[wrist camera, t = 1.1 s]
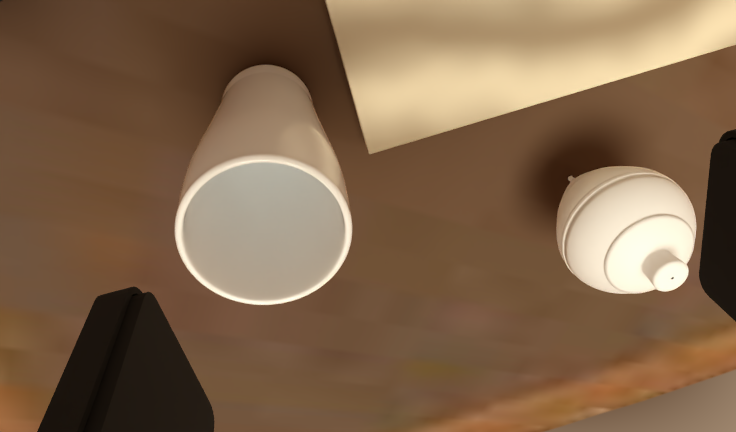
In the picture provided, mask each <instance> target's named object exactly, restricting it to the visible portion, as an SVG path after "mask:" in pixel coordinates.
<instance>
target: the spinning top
mask: <svg viewBox="0 0 736 432" xmlns="http://www.w3.org/2000/svg"><path fill="white" fill-rule="evenodd" d="M568 180H569V181H570V183H569V185H568V186H567V188H566V190H565V192H564V194H563V197H562V199H561V202H560V204H559V208H558V213H557V225H556V234H557V243H558V248H559V251H560V253H561V256H562V258H563V260H564V261H565V263H566V265H567V267H568V268H569V269H570V271H571V272H572V273H573V274H574V275H575V276H576V277H578V278H579V279H580V280H581V281H583V282H584V283H586V284H588V285H589V286H591V287H593V288H596V289H599V290H602V291H606V292H611V293H622V294H626V293H644V292H648V291H652V290H654V289H657V290H660V291H671V290H673V289H676V288H677V287H679V286H680V285H681V284H682V283H683V282H684V281H685V280H686V278H687V276H688V267H687V265H686V264H687V263H688V261H689V259H690V257H691V255H692V252H693V249H694V243H695V236H696V218H695V213H694V209H693V207H692V204H691V202H690V200H689V198H688V196H687V195H686V193H685V192H684V191H683V190H682V189H681V188H680V186H679V185H678V184H677V183H675V182H674V181H673V180H672V179H670V178H668V177H667V176H664V175H663V174H661V173H659V172H656V171H654V170H651V169H647V168H642V167H635V166H613V167H603V168H599V169H596V170H593V171H590V172H587V173H584V174H582V175H580V176H578V177H576V178H574V177H573V176H569V177H568Z"/></svg>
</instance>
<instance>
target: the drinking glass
mask: <svg viewBox="0 0 736 432" xmlns="http://www.w3.org/2000/svg"><path fill="white" fill-rule="evenodd" d="M175 239H176V244H177V248H178V251H179V254H180V256H181V258H182V260H183V262H184V264H185V265H186V267H187V268H188V270H189V271H190V272H191V274H192V275H193V276H194V277H195V278H196V279H197V280H198V281H199V282H201V283H202V284H203V285H204V286H206V287H207V288H208V289H210V290H212V291H213V292H215V293H217V294H219V295H221V296H223V297H225V298H228V299H231V300H234V301H237V302H242V303H247V304H255V305H272V304H280V303H286V302H290V301H293V300H296V299H299V298H302V297H304V296H306V295H308V294H310V293H312V292H314V291H316V290H317V289H319V288H320V287H322V286H323V285H324V284H325V283H327V282H328V281H329V280H330V279H331V278H332V277H333V276H334V275H335V273H336V272H337V271H338V270H339V268H340V267H341V265H342V264H343V262H344V260H345V258H346V256H347V254H348V251H349V248H350V244H351V239H352V219H351V213H350V206H349V199H348V193H347V188H346V184H345V180H344V176H343V173H342V170H341V167H340V164H339V161H338V159H337V156H336V154H335V151H334V149H333V147H332V145H331V143H330V141H329V139H328V136H327V134H326V132H325V130H324V128H323V126H322V124H321V122H320V120H319V117H318V115H317V113H316V111H315V108H314V106H313V101H312V98H311V95H310V93H309V91H308V89H307V87H306V85H305V84H304V83H303V82H302V80H301V79H300V78H299V77H297V76H296V75H295V74H294V73H292V72H291V71H289V70H287V69H285V68H282V67H279V66H275V65H257V66H253V67H250V68H247V69H245V70H243V71H241V72H240V73H238V74H237V75H236V76H235V77H234V78H233V79H232V80H231V81H230V82H229V84H228V85H227V87H226V89H225V91H224V93H223V97H222V100H221V103H220V105H219V107H218V109H217V111H216V113H215V115H214V116H213V118H212V120H211V122H210V124H209V126H208V127H207V129H206V131H205V133H204V135H203V136H202V138H201V140H200V142H199V144H198V146H197V148H196V150H195V152H194V154H193V156H192V158H191V161H190V163H189V166H188V168H187V171H186V174H185V178H184V181H183V185H182V189H181V193H180V197H179V203H178V209H177V214H176V219H175Z"/></svg>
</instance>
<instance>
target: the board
mask: <svg viewBox="0 0 736 432" xmlns="http://www.w3.org/2000/svg"><path fill="white" fill-rule="evenodd" d="M325 3H326V6H327V10H328V13H329V17H330V20H331V24H332V27H333V31H334V34H335V38H336V42H337V45H338V49H339V52H340V56H341V59H342V63H343V66H344V70H345V73H346V77H347V80H348V84H349V87H350V91H351V95H352V98H353V102H354V105H355V109H356V112H357V116H358V119H359V123H360V126H361V130H362V133H363V137H364V140H365V143H366V146H367V149H368V152H369V154H372V153H375V152H379V151H382V150H385V149H389V148H392V147H395V146H399V145H402V144H405V143H409V142H412V141H415V140H419V139H422V138H425V137H429V136H432V135H435V134H439V133H442V132H445V131H449V130H452V129H455V128H459V127H462V126H466V125H469V124H472V123H476V122H479V121H482V120H486V119H489V118H492V117H496V116H499V115H502V114H506V113H509V112H512V111H516V110H519V109H522V108H526V107H529V106H532V105H536V104H539V103H542V102H546V101H549V100H552V99H556V98H559V97H562V96H566V95H569V94H572V93H576V92H579V91H582V90H586V89H589V88H592V87H596V86H599V85H602V84H606V83H609V82H612V81H616V80H619V79H622V78H626V77H629V76H632V75H636V74H639V73H642V72H646V71H649V70H652V69H656V68H659V67H662V66H666V65H669V64H672V63H676V62H679V61H682V60H686V59H689V58H692V57H696V56H699V55H702V54H706V53H709V52H712V51H716V50H719V49H722V48H726V47H729V46H732V45H736V0H325Z"/></svg>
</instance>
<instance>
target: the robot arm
mask: <svg viewBox="0 0 736 432" xmlns="http://www.w3.org/2000/svg"><path fill="white" fill-rule="evenodd" d="M699 278H700V283H701V285H702V287H703V289H704V291H705V292H706V294H707V295H708V296H709V297H710V298H711V299H712V300H713V301H714V302H716V303H717V304H718V305H719V306H720V307H721V308H722V309H723V310H724V311H725V312H726V313H727V314H728V315H729V316H730V317H732V318H733V319H734V320H735V321H736V129H735V130H731V131H727V132H726V133H725V134H723V135H722V137H721V139H720V141H719V143H717V144H716V145H714V147H713V149H712V152H711V159H710V169H709V179H708V189H707V199H706V209H705V220H704V230H703V240H702V250H701V260H700V270H699ZM37 432H214V415H213V410H212V407H211V404H210V402H209V400H208V398H207V396H206V394H205V392H204V390H203V388H202V387H201V385H200V383H199V381H198V379H197V377H196V375H195V373H194V371H193V369H192V367H191V365H190V363H189V361H188V360H187V358H186V356H185V354H184V352H183V350H182V348H181V346H180V344H179V342H178V340H177V338H176V336H175V334H174V333H173V331H172V329H171V327H170V325H169V323H168V321H167V319H166V317H165V315H164V313H163V311H162V309H161V308H160V306H159V304H158V302H157V300H156V298H155V297H154V295H153V294H152V293H150V292H146V293H142V292H141V291H140V290H139V289H138V288H137V287H130V288H126V289H123V290H119V291H115V292H111V293H107V294H103V295H100V296H98V297H97V298H96V300H95V301H94V304H93V306H92V308H91V310H90V313H89V315H88V317H87V320H86V322H85V324H84V326H83V329H82V331H81V333H80V335H79V338H78V340H77V342H76V345H75V347H74V349H73V351H72V354H71V356H70V358H69V361H68V363H67V365H66V367H65V370H64V372H63V374H62V377H61V379H60V381H59V383H58V386H57V388H56V390H55V393H54V395H53V397H52V399H51V402H50V404H49V406H48V409H47V411H46V413H45V415H44V418H43V420H42V422H41V424H40V427H39V429H38V431H37Z"/></svg>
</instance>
